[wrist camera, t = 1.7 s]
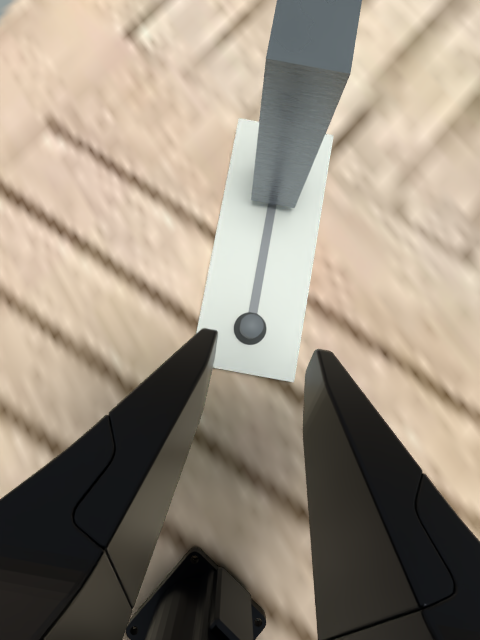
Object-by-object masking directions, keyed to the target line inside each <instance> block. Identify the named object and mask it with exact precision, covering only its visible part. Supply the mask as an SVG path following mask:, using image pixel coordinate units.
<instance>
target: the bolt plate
mask: <svg viewBox="0 0 480 640" xmlns="http://www.w3.org/2000/svg"><path fill="white" fill-rule="evenodd" d="M258 129H259V122H257V121H252V120H246V119H241V118H239V120H238V125H237V130H236V136H235V141H234V146H233V151H232V156H231V161H230V166H229V171H228V176H227V181H226V186H225V191H224V196H223V201H222V206H221V211H220V216H219V221H218V226H217V231H216V236H215V241H214V247H213V252H212V257H211V262H210V267H209V272H208V277H207V282H206V287H205V292H204V297H203V302H202V307H201V312H200V317H199V322H198V327H197V332H196V334H197V333H198V332H199V331H200V330H201V329H202V328H208V329H213V330H217V331H218V339H217V346H216V354H215V360H214V364H213V368H218V369H224V370H229V371H235V372H240V373H245V374H251V375H256V376H262V377H267V378H273V379H278V380H284V381H289V382H294V379H295V373H296V366H297V360H298V354H299V348H300V341H301V335H302V329H303V323H304V316H305V310H306V304H307V298H308V291H309V285H310V279H311V273H312V266H313V260H314V254H315V248H316V241H317V235H318V229H319V223H320V216H321V210H322V204H323V198H324V191H325V185H326V179H327V173H328V166H329V160H330V154H331V148H332V141H333V135H329V134H325V136H324V138H323V141H322V143H321V146H320V148H319V151H318V153H317V155H316V158H315V160H314V163H313V165H312V167H311V170H310V172H309V175H308V177H307V180H306V182H305V184H304V187H303V189H302V192H301V194H300V196H299V199H298V201H297V204H296V206H295V208H290V207H285V206H279V205H274V204H269V203H263V202H258V201H252V200H251V195H252V186H253V176H254V167H255V158H256V148H257V139H258Z"/></svg>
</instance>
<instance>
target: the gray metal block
mask: <svg viewBox="0 0 480 640" xmlns="http://www.w3.org/2000/svg"><path fill="white" fill-rule="evenodd" d="M361 2H362V0H277V4H276V9H275V14H274V20H273V25H272V30H271V35H270V41H269V46H268V51H267V56H266V64H265V73H264V82H263V92H262V101H261V111H260V120H259V129H258V139H257V148H256V158H255V167H254V176H253V186H252V195H251V200H252V201H258V202H263V203H269V204H274V205H279V206H285V207H290V208H295V206H296V204H297V201H298V199H299V196H300V194H301V192H302V189H303V187H304V184H305V182H306V180H307V177H308V175H309V172H310V170H311V167H312V165H313V163H314V160H315V158H316V155H317V153H318V151H319V148H320V146H321V143H322V141H323V138H324V136H325V134H326V131H327V129H328V126H329V124H330V122H331V119H332V117H333V114H334V112H335V109H336V107H337V105H338V102H339V100H340V97H341V95H342V93H343V90H344V88H345V85H346V83H347V80H348V78H349V76H350V72H351V66H352V60H353V53H354V47H355V40H356V34H357V28H358V21H359V15H360V9H361Z"/></svg>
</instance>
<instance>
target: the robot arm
mask: <svg viewBox="0 0 480 640" xmlns="http://www.w3.org/2000/svg"><path fill="white" fill-rule="evenodd" d="M217 339H218V331H217V330H213V329H208V328H202V329H201V330H200V331H199V332H198V333H197V334H195V335H194V336H193V337H192V338H191V339H190V340H189V341H188V342H187V343H185V344H184V345H183V346H182V347H181V348H180V349H179V350H178V351H177V352H175V353H174V354H173V355H172V356H171V357H170V358H169V359H168V360H167V361H165V362H164V363H163V364H162V365H161V366H160V367H159V368H158V369H157V370H155V371H154V372H153V373H152V374H151V375H150V376H149V377H148V378H147V379H145V380H144V381H143V382H142V383H141V384H140V385H139V386H138V387H137V388H135V389H134V390H133V391H132V392H131V393H130V394H129V395H128V396H127V397H125V398H124V399H123V400H122V401H121V402H120V403H119V404H118V405H117V406H116V407H114V408H113V409H112V410H111V411H110V412H109V415H105V416H104V417H103V418H102V419H101V420H100V421H99V422H98V423H96V424H95V425H94V426H93V427H92V428H91V429H90V430H89V431H87V432H86V433H85V434H84V435H83V436H82V437H80V438H79V439H78V440H77V441H76V442H75V443H73V444H72V445H71V446H70V447H69V448H67V449H66V450H65V451H63V452H62V453H61V454H60V455H58V456H57V457H56V458H54V459H53V460H52V461H50V462H49V463H48V464H47V465H45V466H44V467H43V468H41V469H40V470H39V471H37V472H36V473H35V474H33V475H32V476H31V477H29V478H28V479H27V480H25V481H24V482H23V483H21V484H20V485H19V486H17V487H16V488H15V489H13V490H12V491H11V492H9V493H8V494H7V495H5V496H4V497H3V498H1V499H0V640H122V638H123V636H124V633H125V630H126V634H127V636H128V637H129V639H130V640H255V639H256V638H257V636H258V635H259V634H260V633H261V632H262V630H263V629H264V628H265V626H266V616H265V613H264V611H263V610H262V609H261V608H260V607H259V606H258V605H257V604H256V603H255V602H254V601H253V600H252V599H251V595H250V594H249V593H248V592H247V591H246V590H245V589H244V588H243V587H242V586H241V585H240V584H239V583H238V582H237V581H236V580H235V579H234V578H233V577H232V576H231V575H230V574H229V573H228V572H227V571H226V570H225V569H224V568H221V567H218V566H217V565H216V564H215V563H214V562H213V561H212V560H211V559H210V558H209V557H208V556H207V555H206V554H205V553H204V552H203V551H202V550H201V549H199V548H192V549H191V550H189V552H188V553H187V554H186V555H185V556H184V557H183V559H182V560H181V561H180V562H179V563H178V564H177V566H176V567H175V568H174V569H173V570H172V571H171V573H170V574H169V575H168V576H167V577H166V578H165V580H164V581H163V582H162V583H161V584H160V585H159V587H158V588H157V589H156V590H155V591H154V592H153V594H152V595H151V596H150V597H149V598H148V599H147V601H146V602H145V603H144V604H143V605H142V606H141V608H140V609H139V610H138V611H137V612H136V613H135V615H134V616H133V617H132V618H131V619H130V616H131V613H132V608H133V607H134V604H135V602H136V599H137V596H138V593H139V590H140V588H141V585H142V582H143V579H144V576H145V573H146V571H147V568H148V565H149V562H150V559H151V557H152V554H153V551H154V548H155V545H156V542H157V540H158V537H159V534H160V531H161V528H162V526H163V523H164V520H165V517H166V514H167V512H168V509H169V506H170V503H171V500H172V497H173V495H174V492H175V489H176V486H177V483H178V481H179V478H180V475H181V472H182V469H183V466H184V464H185V461H186V458H187V455H188V452H189V450H190V447H191V444H192V441H193V438H194V436H195V433H196V430H197V427H198V424H199V421H200V419H201V415H202V412H203V409H204V405H205V401H206V396H207V391H208V387H209V382H210V378H211V373H212V369H213V364H214V360H215V354H216V346H217ZM303 443H304V457H305V470H306V484H307V497H308V511H309V524H310V538H311V551H312V565H313V578H314V592H315V605H316V619H317V633H318V640H480V541H479V540H478V539H477V538H476V536H475V535H474V534H473V533H472V532H471V531H470V529H469V528H468V527H467V526H466V525H465V524H464V522H463V521H462V520H461V519H460V518H459V516H458V515H457V514H456V513H455V511H454V510H453V509H452V507H451V506H450V505H449V504H448V502H447V501H446V500H445V499H444V497H443V496H442V495H441V494H440V492H439V491H438V490H437V488H436V487H435V486H434V485H433V483H432V482H431V481H430V479H429V478H428V477H427V475H426V474H424V473H423V474H422V469H421V468H420V466H419V465H418V464H417V462H416V461H415V460H414V459H413V457H412V456H411V455H410V453H409V452H408V451H407V449H406V448H405V447H404V445H403V444H402V443H401V442H400V440H399V439H398V438H397V436H396V435H395V434H394V432H393V431H392V430H391V428H390V427H389V426H388V424H387V423H386V422H385V421H384V419H383V418H382V417H381V415H380V414H379V413H378V411H377V410H376V409H375V407H374V406H373V405H372V404H371V402H370V401H369V400H368V398H367V397H366V396H365V394H364V393H363V392H362V390H361V389H360V388H359V387H358V385H357V384H356V383H355V381H354V380H353V379H352V377H351V376H350V375H349V373H348V372H347V371H346V369H345V368H344V367H343V366H342V364H341V363H340V362H339V360H338V359H337V358H336V356H335V355H334V354H333V353H332V352H331V351H327V350H322V349H316V350H315V351H314V353H313V355H312V358H311V360H310V362H309V365H308V367H307V370H306V374H305V389H304V411H303ZM192 556H197V557H198V559H197V560H194V559H192ZM256 618H260V619H261V620H260V621H255V619H256ZM129 619H130V621H129ZM128 621H129V623H128ZM127 624H128V625H127ZM133 626H136V627H137V628H138V629H133ZM126 627H127V628H126Z"/></svg>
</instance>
